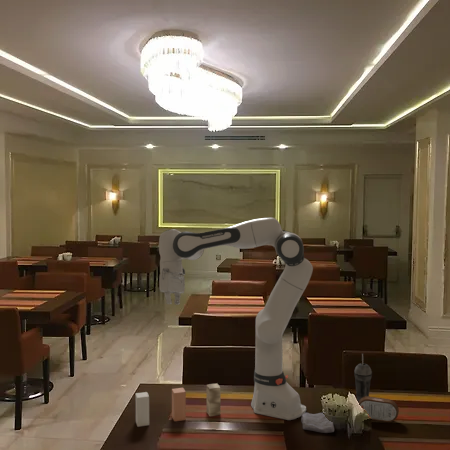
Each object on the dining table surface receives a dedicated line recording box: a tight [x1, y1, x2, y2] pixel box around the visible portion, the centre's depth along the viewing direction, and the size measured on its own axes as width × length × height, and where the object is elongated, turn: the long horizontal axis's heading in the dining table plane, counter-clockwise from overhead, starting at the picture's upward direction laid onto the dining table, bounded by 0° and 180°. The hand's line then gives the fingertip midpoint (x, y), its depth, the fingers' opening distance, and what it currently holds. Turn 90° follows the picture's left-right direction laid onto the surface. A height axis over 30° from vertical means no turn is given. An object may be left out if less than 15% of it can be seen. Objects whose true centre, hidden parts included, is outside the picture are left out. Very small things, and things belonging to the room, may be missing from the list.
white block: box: [135, 391, 150, 428], centre depth 194 cm, size 4×4×11 cm
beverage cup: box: [353, 353, 373, 402], centre depth 215 cm, size 7×7×20 cm
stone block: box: [300, 411, 335, 434], centre depth 192 cm, size 12×5×10 cm
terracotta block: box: [171, 387, 187, 422], centre depth 198 cm, size 4×4×11 cm
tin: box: [357, 395, 400, 423], centre depth 198 cm, size 15×3×8 cm, turn 71°
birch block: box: [206, 382, 222, 417], centre depth 203 cm, size 4×4×11 cm
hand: (173, 304), depth 206 cm, fingers open, 8 cm apart
